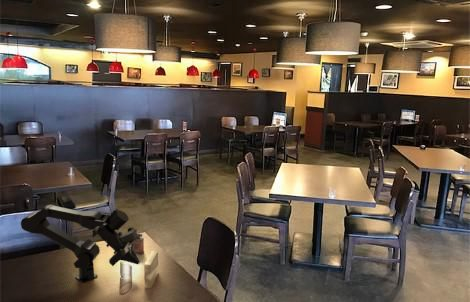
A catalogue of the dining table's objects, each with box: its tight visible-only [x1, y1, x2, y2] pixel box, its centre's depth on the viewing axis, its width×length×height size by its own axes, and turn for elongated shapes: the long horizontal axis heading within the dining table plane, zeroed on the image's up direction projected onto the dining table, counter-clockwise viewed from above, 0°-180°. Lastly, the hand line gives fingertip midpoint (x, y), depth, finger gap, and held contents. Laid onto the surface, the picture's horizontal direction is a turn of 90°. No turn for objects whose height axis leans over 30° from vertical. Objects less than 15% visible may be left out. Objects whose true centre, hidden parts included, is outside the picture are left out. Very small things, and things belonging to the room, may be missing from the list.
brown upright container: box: [130, 231, 145, 256], centre depth 173 cm, size 8×3×10 cm, turn 76°
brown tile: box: [143, 250, 159, 289], centre depth 149 cm, size 3×12×10 cm, turn 178°
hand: (138, 263), depth 149 cm, fingers closed
